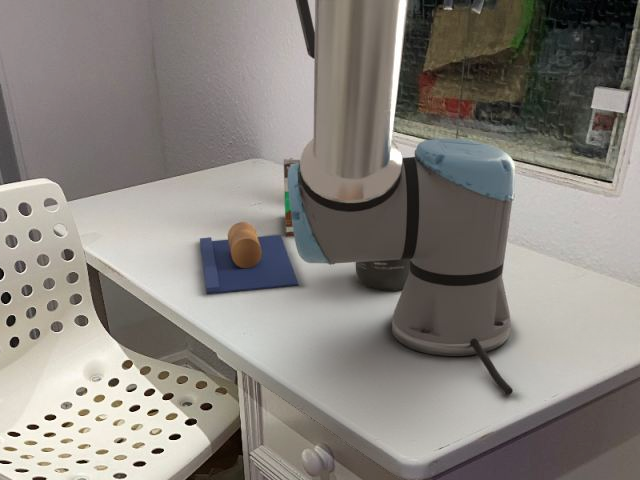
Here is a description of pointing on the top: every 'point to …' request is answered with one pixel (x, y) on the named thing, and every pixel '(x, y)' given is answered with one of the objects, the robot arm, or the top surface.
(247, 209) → the top surface
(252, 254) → the roller
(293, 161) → the food container
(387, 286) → the jar
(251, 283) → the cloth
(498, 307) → the robot arm
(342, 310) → the top surface
